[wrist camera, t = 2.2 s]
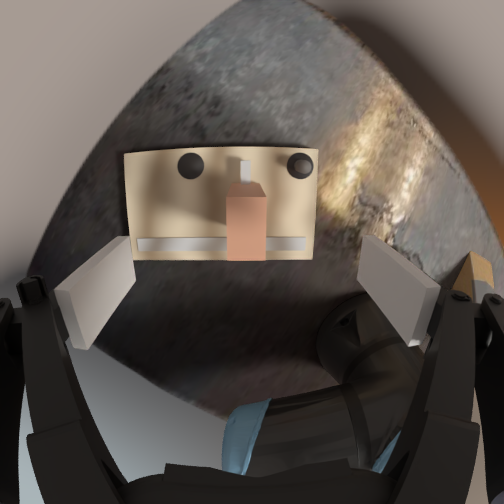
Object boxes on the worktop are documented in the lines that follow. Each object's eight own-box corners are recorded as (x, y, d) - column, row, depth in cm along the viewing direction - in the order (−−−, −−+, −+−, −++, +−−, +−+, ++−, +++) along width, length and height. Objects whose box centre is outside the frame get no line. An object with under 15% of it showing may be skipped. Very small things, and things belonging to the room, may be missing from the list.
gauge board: (313, 149, 31) (324, 149, 27) (308, 253, 36) (316, 267, 32) (130, 153, 31) (115, 154, 26) (138, 254, 35) (126, 267, 31)
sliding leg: (259, 160, 29) (267, 163, 20) (258, 227, 32) (265, 260, 22) (231, 160, 29) (225, 163, 20) (232, 227, 32) (227, 260, 22)
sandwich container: (491, 262, 38) (545, 298, 24) (455, 332, 42) (496, 379, 28) (469, 248, 36) (530, 286, 22) (429, 327, 41) (474, 380, 27)
